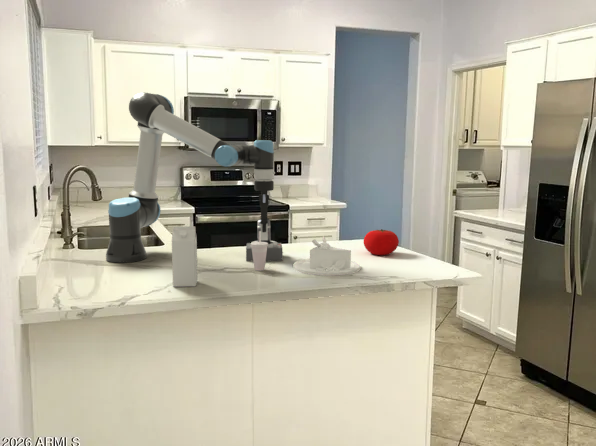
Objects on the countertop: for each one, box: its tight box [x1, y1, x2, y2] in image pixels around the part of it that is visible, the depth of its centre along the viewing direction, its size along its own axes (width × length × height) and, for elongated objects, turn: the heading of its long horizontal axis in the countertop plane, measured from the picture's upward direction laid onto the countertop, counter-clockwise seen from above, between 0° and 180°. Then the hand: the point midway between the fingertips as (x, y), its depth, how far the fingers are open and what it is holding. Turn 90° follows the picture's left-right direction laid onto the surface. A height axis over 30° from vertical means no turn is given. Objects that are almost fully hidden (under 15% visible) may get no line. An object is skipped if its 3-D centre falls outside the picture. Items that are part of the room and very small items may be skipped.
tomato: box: [363, 229, 400, 256], centre depth 230 cm, size 14×13×10 cm
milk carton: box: [171, 225, 198, 288], centre depth 180 cm, size 7×7×19 cm
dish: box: [292, 235, 361, 277], centre depth 205 cm, size 25×25×11 cm
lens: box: [256, 219, 271, 244], centre depth 220 cm, size 5×5×10 cm
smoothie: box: [251, 231, 268, 272], centre depth 201 cm, size 6×6×14 cm
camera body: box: [245, 240, 283, 262], centre depth 221 cm, size 14×11×6 cm
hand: (264, 238), depth 220 cm, fingers open, 6 cm apart
